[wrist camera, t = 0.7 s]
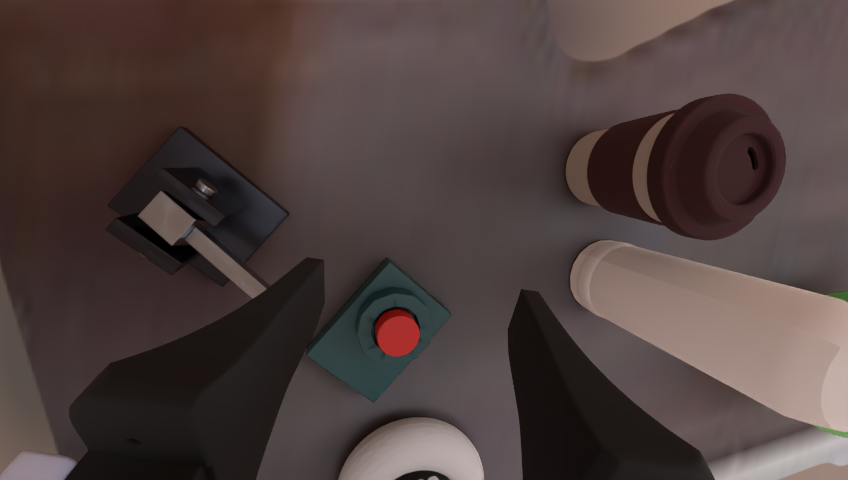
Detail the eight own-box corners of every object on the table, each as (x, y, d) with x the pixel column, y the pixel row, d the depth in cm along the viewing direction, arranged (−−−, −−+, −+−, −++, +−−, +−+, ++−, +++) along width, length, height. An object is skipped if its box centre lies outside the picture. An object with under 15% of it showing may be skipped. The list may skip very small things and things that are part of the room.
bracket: (289, 212, 33) (278, 227, 25) (225, 283, 33) (194, 319, 25) (185, 127, 30) (135, 113, 22) (114, 204, 30) (39, 217, 22)
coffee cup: (546, 216, 39) (673, 245, 25) (556, 113, 37) (699, 81, 23) (629, 217, 42) (789, 244, 27) (642, 121, 40) (820, 95, 26)
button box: (371, 393, 38) (376, 414, 35) (306, 347, 36) (304, 365, 32) (446, 308, 38) (458, 322, 35) (387, 257, 36) (393, 266, 33)
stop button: (396, 355, 35) (400, 364, 33) (365, 331, 34) (368, 340, 32) (423, 324, 35) (428, 332, 33) (393, 300, 34) (397, 307, 32)
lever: (321, 278, 27) (313, 283, 25) (263, 343, 27) (249, 354, 25) (201, 173, 27) (181, 167, 24) (141, 238, 27) (115, 239, 24)
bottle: (605, 322, 43) (1152, 625, 15) (554, 290, 41) (1085, 577, 12) (644, 260, 43) (1275, 446, 14) (595, 224, 41) (1231, 362, 12)
